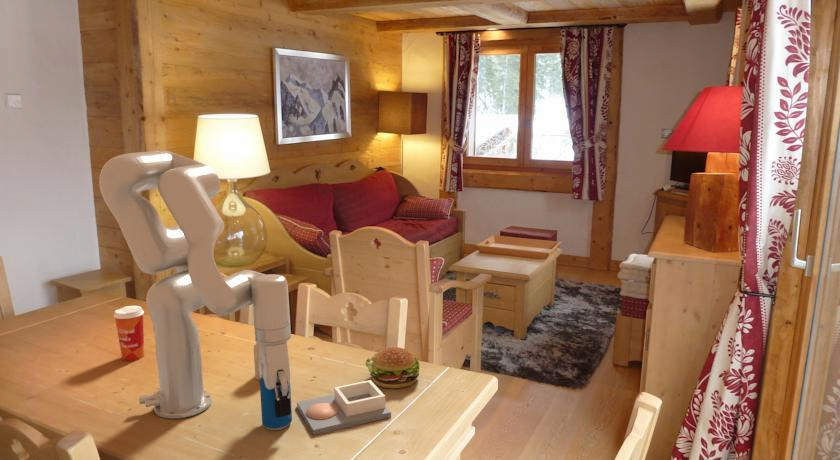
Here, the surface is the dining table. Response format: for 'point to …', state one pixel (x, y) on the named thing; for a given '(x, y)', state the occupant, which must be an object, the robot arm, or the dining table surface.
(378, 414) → the board
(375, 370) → the food
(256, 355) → the candle
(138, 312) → the paper cup
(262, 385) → the beverage can
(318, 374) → the dining table surface
